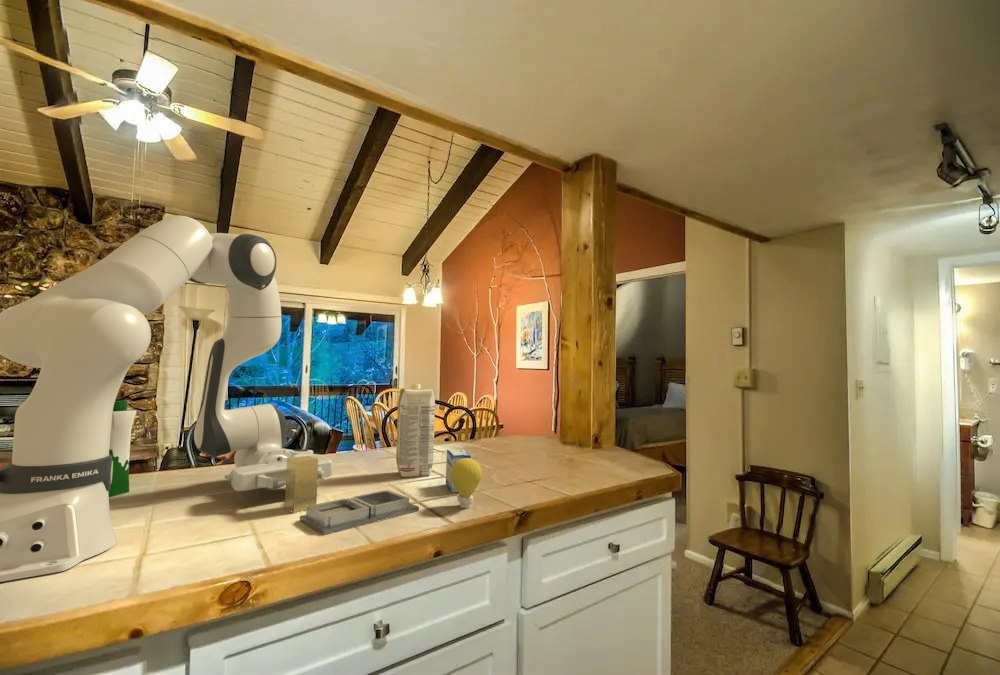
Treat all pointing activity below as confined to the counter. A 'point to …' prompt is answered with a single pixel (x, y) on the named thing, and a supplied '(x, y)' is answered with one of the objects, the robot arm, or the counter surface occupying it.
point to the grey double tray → (356, 511)
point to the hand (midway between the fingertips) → (298, 479)
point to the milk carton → (120, 447)
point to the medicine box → (453, 457)
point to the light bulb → (465, 479)
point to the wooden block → (301, 483)
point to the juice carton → (415, 431)
